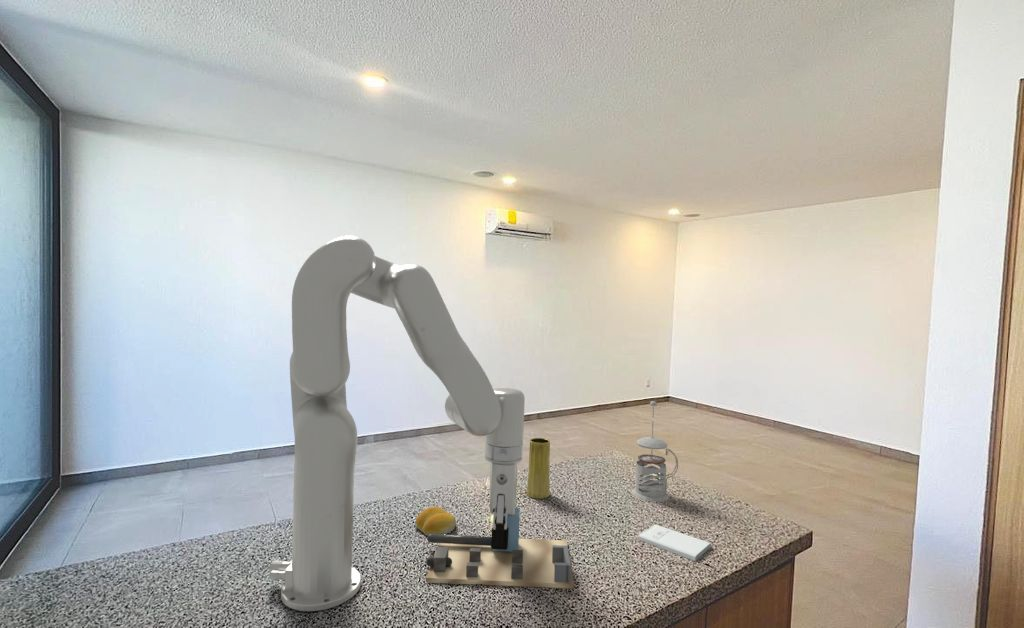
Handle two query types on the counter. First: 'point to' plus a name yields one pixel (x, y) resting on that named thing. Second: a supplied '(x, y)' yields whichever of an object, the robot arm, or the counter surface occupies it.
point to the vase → (539, 468)
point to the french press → (652, 470)
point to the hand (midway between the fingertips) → (499, 541)
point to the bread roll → (435, 521)
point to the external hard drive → (675, 542)
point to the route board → (496, 565)
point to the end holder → (561, 563)
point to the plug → (486, 541)
